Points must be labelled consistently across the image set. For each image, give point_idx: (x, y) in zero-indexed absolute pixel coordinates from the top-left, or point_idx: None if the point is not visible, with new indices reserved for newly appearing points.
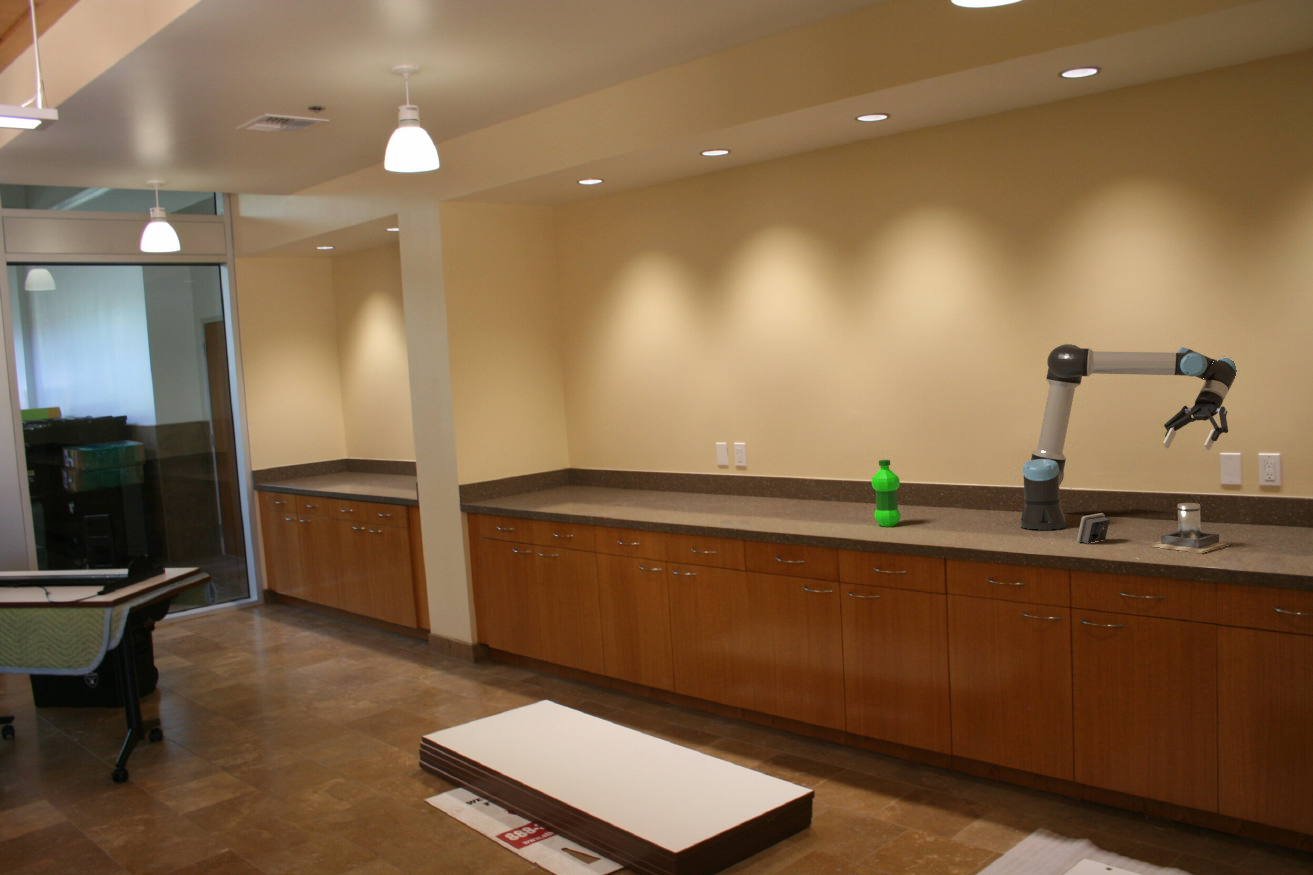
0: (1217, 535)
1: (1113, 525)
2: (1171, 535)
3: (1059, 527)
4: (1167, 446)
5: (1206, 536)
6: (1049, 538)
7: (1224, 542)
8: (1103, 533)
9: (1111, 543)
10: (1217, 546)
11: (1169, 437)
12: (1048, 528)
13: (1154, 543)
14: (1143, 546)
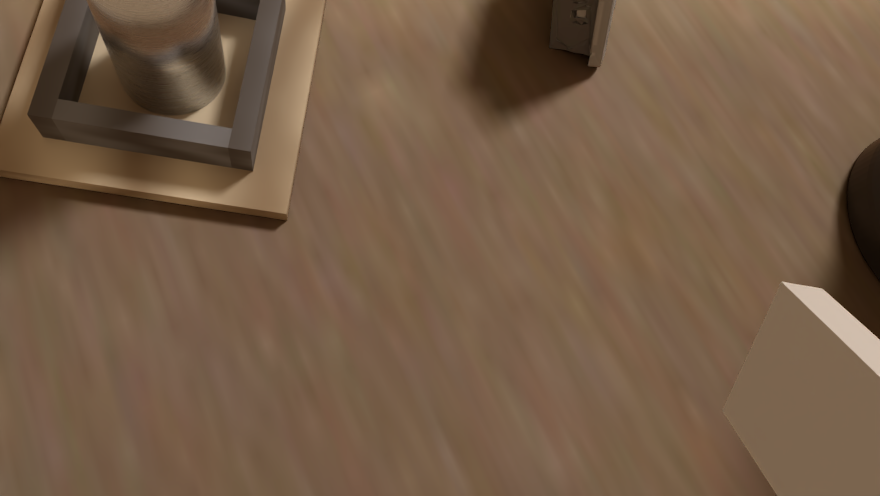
0: (33, 104)
1: None
2: (254, 32)
3: (853, 191)
4: (741, 376)
5: (73, 39)
6: (749, 12)
7: (15, 144)
8: (567, 28)
9: (499, 12)
10: (27, 52)
11: (870, 430)
12: (868, 148)
13: (314, 5)
14: (357, 3)
